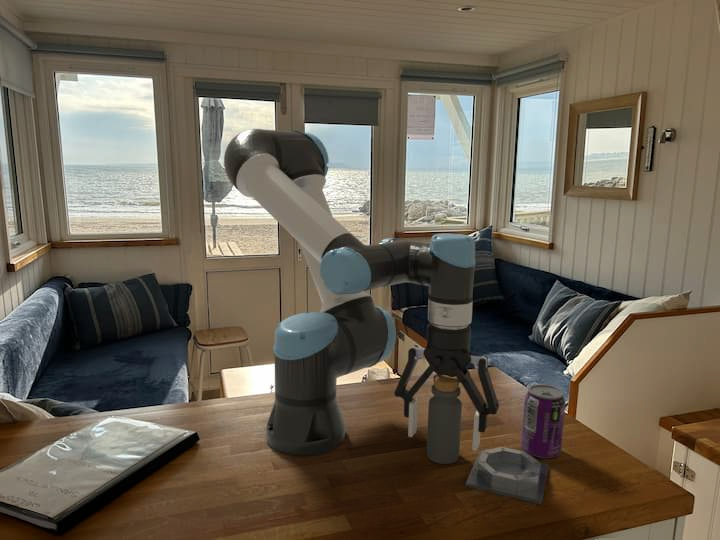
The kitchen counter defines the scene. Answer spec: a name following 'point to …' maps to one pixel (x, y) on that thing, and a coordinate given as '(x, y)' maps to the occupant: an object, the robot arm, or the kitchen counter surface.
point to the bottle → (444, 420)
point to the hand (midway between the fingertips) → (443, 440)
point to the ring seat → (509, 474)
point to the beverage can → (543, 421)
